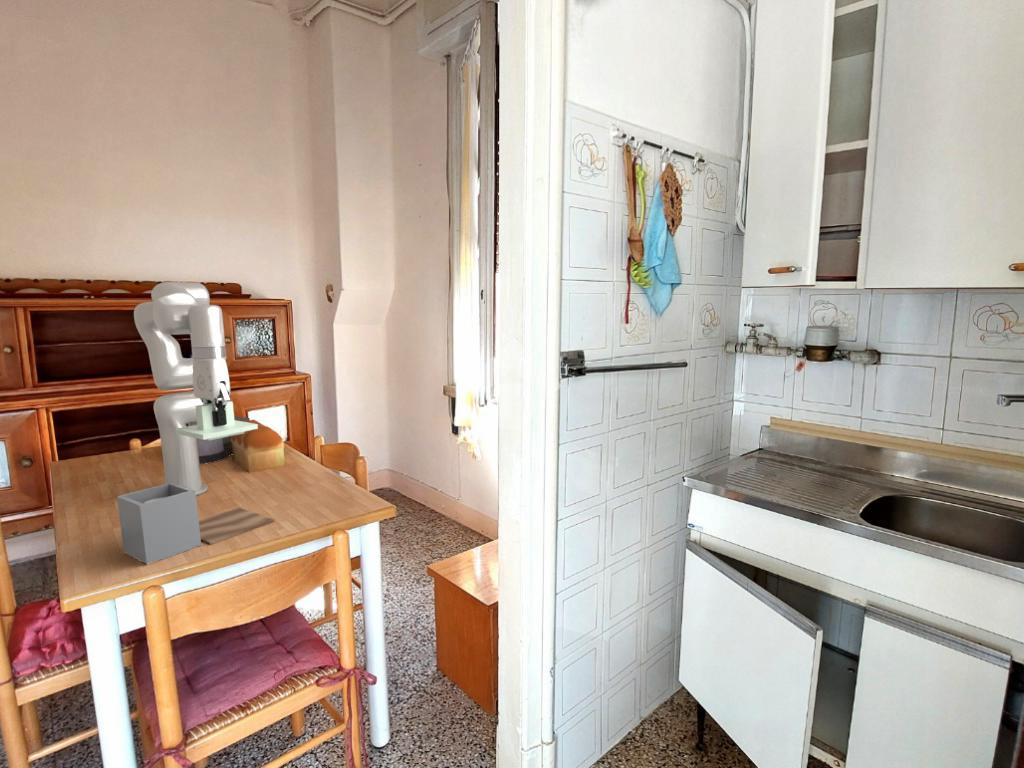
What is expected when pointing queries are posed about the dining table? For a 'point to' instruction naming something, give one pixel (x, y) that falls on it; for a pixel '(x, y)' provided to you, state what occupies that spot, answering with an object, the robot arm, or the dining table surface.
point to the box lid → (208, 430)
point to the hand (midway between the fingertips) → (216, 424)
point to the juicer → (215, 446)
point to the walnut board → (230, 524)
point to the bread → (258, 448)
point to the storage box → (159, 522)
